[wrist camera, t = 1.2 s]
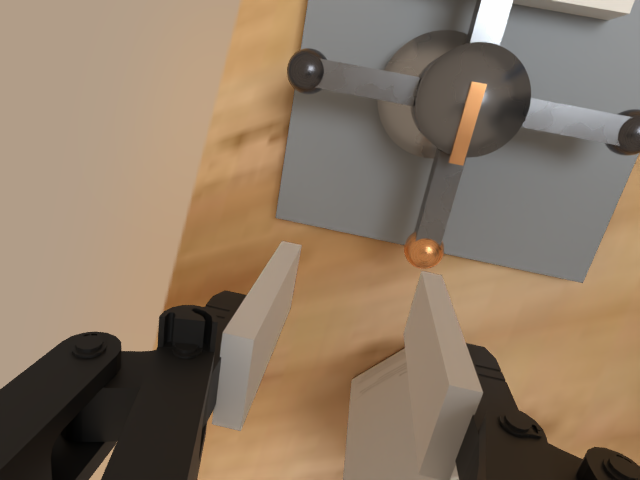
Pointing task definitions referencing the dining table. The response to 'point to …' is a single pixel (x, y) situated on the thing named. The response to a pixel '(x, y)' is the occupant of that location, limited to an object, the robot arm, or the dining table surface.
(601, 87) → the stand
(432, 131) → the capstan
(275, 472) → the dining table surface
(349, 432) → the supplement box
